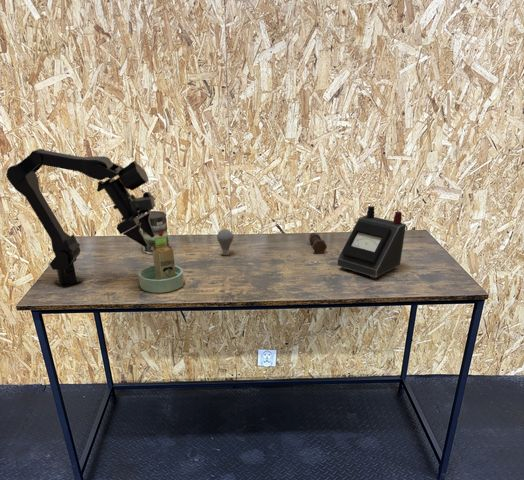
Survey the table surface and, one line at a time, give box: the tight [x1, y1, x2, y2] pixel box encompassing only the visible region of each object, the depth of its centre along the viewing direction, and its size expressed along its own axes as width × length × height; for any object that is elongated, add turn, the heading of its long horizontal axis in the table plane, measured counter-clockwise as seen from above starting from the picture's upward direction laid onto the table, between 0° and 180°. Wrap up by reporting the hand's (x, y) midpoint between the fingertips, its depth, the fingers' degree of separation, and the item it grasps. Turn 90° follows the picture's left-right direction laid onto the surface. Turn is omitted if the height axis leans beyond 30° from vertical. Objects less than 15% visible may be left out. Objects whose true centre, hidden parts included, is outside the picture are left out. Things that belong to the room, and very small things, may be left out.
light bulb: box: [216, 228, 234, 256], centre depth 188 cm, size 6×6×10 cm
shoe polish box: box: [152, 246, 176, 280], centre depth 162 cm, size 5×5×12 cm
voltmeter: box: [336, 205, 407, 280], centre depth 173 cm, size 16×16×20 cm
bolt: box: [308, 232, 328, 255], centre depth 197 cm, size 6×5×15 cm
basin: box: [138, 264, 185, 294], centre depth 165 cm, size 14×14×4 cm
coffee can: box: [140, 210, 170, 255], centre depth 192 cm, size 10×10×14 cm
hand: (149, 241), depth 158 cm, fingers open, 9 cm apart
